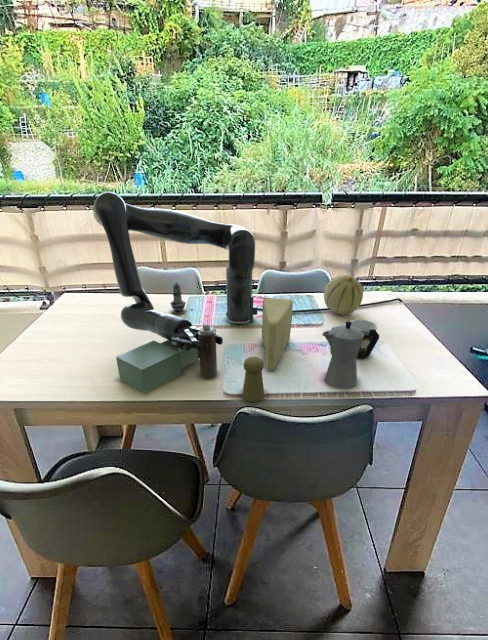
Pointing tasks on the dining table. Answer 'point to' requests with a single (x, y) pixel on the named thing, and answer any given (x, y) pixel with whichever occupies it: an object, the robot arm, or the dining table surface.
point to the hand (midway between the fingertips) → (214, 344)
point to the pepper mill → (208, 352)
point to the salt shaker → (177, 300)
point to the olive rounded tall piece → (253, 379)
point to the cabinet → (149, 366)
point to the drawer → (184, 354)
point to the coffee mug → (366, 340)
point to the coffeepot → (346, 353)
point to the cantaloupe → (343, 294)
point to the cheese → (276, 328)
